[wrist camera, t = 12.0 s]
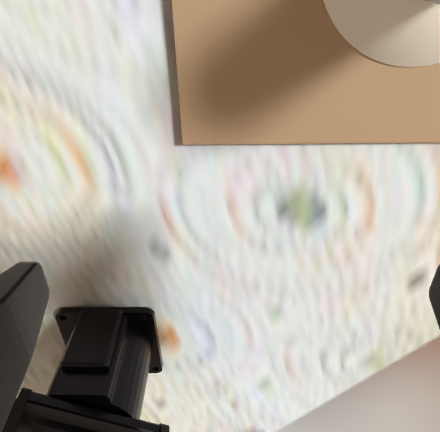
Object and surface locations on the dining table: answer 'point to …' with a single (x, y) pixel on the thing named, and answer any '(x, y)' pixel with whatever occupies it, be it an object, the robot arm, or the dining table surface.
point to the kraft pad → (307, 71)
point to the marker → (434, 1)
